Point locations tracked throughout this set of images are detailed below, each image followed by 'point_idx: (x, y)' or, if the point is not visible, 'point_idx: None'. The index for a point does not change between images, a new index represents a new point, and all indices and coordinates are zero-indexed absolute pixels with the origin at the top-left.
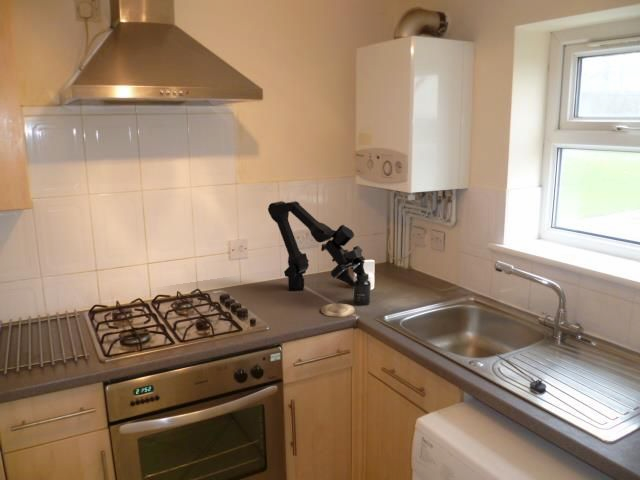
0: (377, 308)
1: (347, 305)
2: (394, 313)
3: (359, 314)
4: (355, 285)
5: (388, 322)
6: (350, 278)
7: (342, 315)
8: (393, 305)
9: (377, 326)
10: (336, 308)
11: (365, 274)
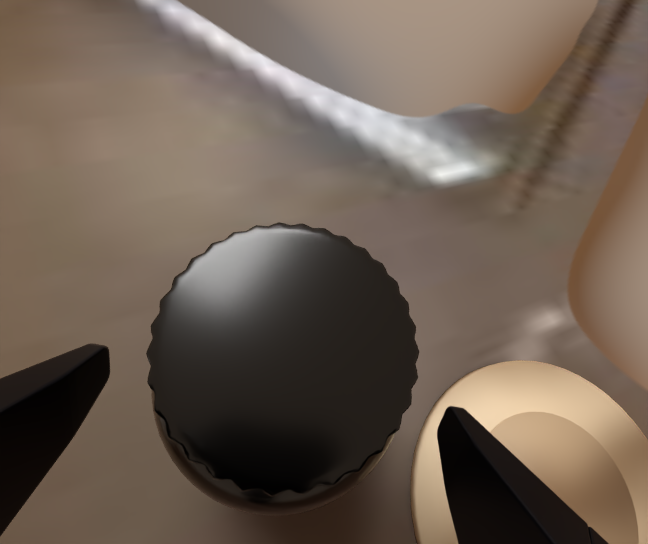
0: None
1: (437, 463)
2: (378, 146)
3: (501, 320)
4: (461, 408)
5: (510, 150)
6: (584, 525)
7: (621, 410)
8: (247, 173)
9: (586, 184)
10: None
11: (263, 280)
